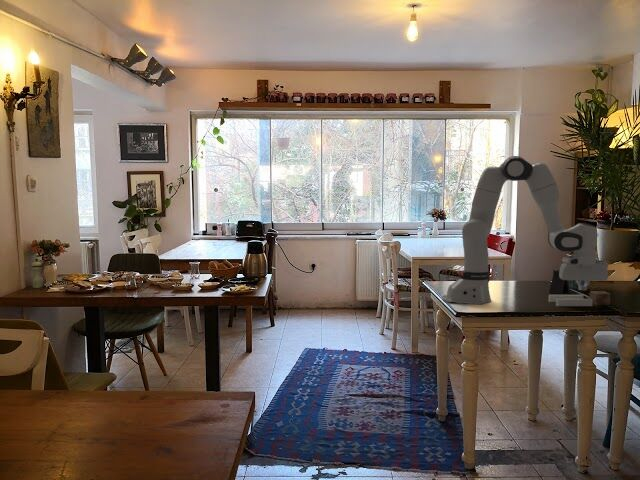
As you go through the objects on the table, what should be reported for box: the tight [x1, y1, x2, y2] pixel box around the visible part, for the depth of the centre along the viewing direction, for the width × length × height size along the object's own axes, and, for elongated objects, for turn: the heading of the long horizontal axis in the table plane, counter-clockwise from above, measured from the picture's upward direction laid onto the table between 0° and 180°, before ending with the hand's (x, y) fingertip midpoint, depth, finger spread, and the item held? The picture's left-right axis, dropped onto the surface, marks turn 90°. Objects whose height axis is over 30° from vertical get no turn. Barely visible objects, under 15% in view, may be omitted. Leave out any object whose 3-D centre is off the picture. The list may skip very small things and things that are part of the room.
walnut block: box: [589, 290, 611, 306], centre depth 228 cm, size 6×6×5 cm
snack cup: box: [568, 280, 586, 290], centre depth 267 cm, size 16×10×10 cm
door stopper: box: [548, 268, 571, 295], centre depth 256 cm, size 9×6×12 cm, turn 122°
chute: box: [548, 294, 593, 307], centre depth 229 cm, size 15×10×4 cm, turn 87°
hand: (582, 290), depth 228 cm, fingers closed
